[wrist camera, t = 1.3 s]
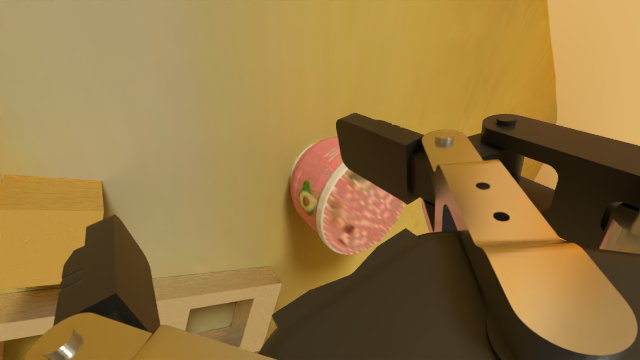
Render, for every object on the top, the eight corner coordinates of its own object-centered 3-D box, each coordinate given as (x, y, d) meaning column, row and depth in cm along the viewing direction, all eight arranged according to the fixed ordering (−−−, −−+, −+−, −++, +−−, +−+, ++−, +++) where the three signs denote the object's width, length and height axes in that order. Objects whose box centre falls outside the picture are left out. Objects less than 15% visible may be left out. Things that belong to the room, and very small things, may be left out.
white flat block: (-56, 404, 22) (-72, 446, 20) (-56, 300, 20) (-75, 334, 18) (251, 330, 37) (261, 350, 35) (270, 266, 35) (282, 282, 33)
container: (322, 106, 31) (378, 125, 25) (371, 161, 38) (423, 186, 32) (257, 189, 30) (298, 230, 24) (318, 230, 37) (362, 269, 31)
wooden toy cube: (1, 243, 21) (-18, 291, 17) (4, 174, 20) (-16, 209, 16) (93, 240, 24) (94, 280, 20) (101, 180, 23) (103, 211, 19)
